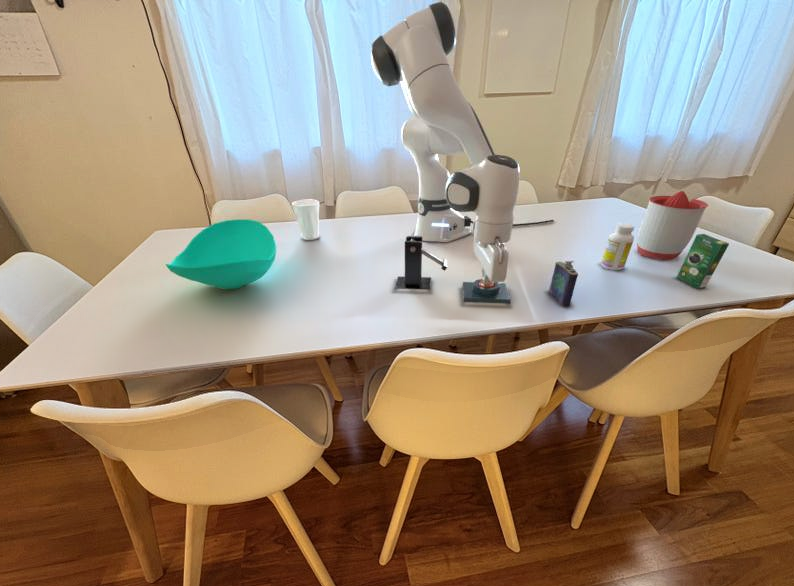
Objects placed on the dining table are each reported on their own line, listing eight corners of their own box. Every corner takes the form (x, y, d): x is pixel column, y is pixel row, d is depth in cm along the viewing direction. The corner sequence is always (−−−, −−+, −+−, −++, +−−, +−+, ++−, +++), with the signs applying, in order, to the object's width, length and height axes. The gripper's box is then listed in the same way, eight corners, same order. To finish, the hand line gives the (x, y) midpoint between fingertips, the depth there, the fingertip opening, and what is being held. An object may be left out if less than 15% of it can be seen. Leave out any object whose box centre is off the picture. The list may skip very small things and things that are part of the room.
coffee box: (707, 288, 105) (731, 242, 97) (698, 290, 104) (722, 243, 96) (683, 277, 111) (704, 233, 103) (675, 278, 110) (695, 234, 103)
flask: (546, 291, 104) (555, 254, 98) (556, 291, 105) (566, 254, 98) (562, 307, 97) (573, 268, 91) (573, 306, 97) (584, 267, 91)
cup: (301, 244, 139) (295, 207, 131) (294, 236, 146) (288, 201, 138) (327, 239, 143) (322, 203, 135) (319, 232, 150) (314, 198, 142)
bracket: (430, 281, 111) (432, 234, 103) (429, 293, 105) (431, 244, 97) (397, 280, 112) (396, 233, 104) (394, 291, 106) (393, 243, 97)
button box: (504, 290, 106) (506, 277, 103) (509, 307, 98) (511, 293, 95) (461, 289, 107) (463, 275, 104) (463, 305, 99) (464, 291, 96)
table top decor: (207, 261, 126) (194, 221, 119) (290, 257, 128) (282, 217, 121) (158, 319, 95) (135, 270, 87) (269, 313, 97) (257, 264, 89)
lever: (443, 265, 106) (448, 258, 105) (443, 272, 102) (448, 265, 101) (407, 243, 104) (412, 236, 102) (406, 249, 100) (410, 242, 98)
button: (492, 286, 102) (493, 280, 101) (493, 293, 99) (494, 286, 98) (477, 286, 102) (478, 280, 101) (478, 292, 99) (479, 286, 98)
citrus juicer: (689, 252, 127) (718, 189, 116) (677, 266, 117) (707, 199, 106) (640, 242, 136) (662, 182, 124) (624, 255, 126) (646, 191, 114)
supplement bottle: (622, 264, 120) (636, 223, 112) (624, 272, 115) (640, 229, 107) (599, 261, 122) (612, 221, 114) (601, 269, 117) (614, 227, 109)
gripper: (518, 245, 83) (508, 301, 91) (495, 219, 100) (488, 268, 108) (490, 246, 83) (482, 302, 91) (471, 219, 99) (467, 269, 107)
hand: (485, 283), depth 99 cm, fingers closed, pressing on button
